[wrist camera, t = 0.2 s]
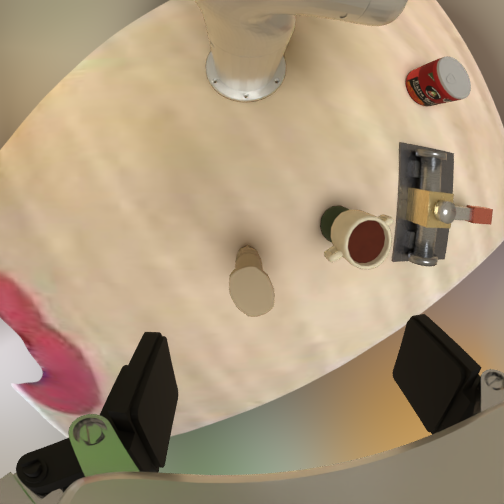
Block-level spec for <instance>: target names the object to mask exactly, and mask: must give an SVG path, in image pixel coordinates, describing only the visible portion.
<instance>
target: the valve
mask: <svg viewBox="0 0 504 504" xmlns="http://www.w3.org/2000/svg"><path fill="white" fill-rule="evenodd" d="M453 169H454V153H449V152H445V151H441V150H436V149H432V148H427V147H422V146H417V145H412V144H406V143H401V142H400V143H399V187H398V205H397V218H396V229H395V238H394V247H393V255H392V262H398V261H410V262H412V263H415V264H418V265H422V266H435V265H437V261H438V260H439V259H445V253H446V247H447V241H448V233H449V228H450V227H451V223H450V224H446V223H444V222H441V221H438V220H437V219H436V217H435V214H434V209H435V206H436V204H437V202H438V201H440V200H445V201H449V202H452V203H453V196H454V194H452V192H453Z"/></svg>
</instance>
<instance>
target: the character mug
mask: <svg viewBox="0 0 504 504" xmlns="http://www.w3.org/2000/svg"><path fill="white" fill-rule="evenodd" d="M393 221H394V220H393V219H392V218H391V217H389V216H387V215H380V216H379V217H376V216H374V215H371V214H369V213H366V212H364V211H361V210H349V209H347V208H345V207H343V206H333V207H331V208H330V209H328V210H326V212H325V213H324V215H323V216H322V218H321V226H320V227H321V231H322V234H323V236H324V237H325V238H326V239H327V240H328V241H330V242H332V243H333V246H332V247H331V248H329V249H328V250H326V251H325V252H324V256H325V257H326V258H327V259H328V260H329V261H330V262H335V261H337V260H338V259H340V258H341V257H344V258H345V259H346V260H347V261H348V262H349V263H350V264H351V265H353V266H356V267H358V268H360V269H368V270H369V269H373V268H376V267H378V266H379V265H381V264H382V263H383V262H384V261H385V259H386V258H387V256H388V254H389V252H390V250H391V244H392V236H391V230H390V228H389V227H388V226H390V225H391V224H392V223H393ZM337 251H338V252H337Z"/></svg>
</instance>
